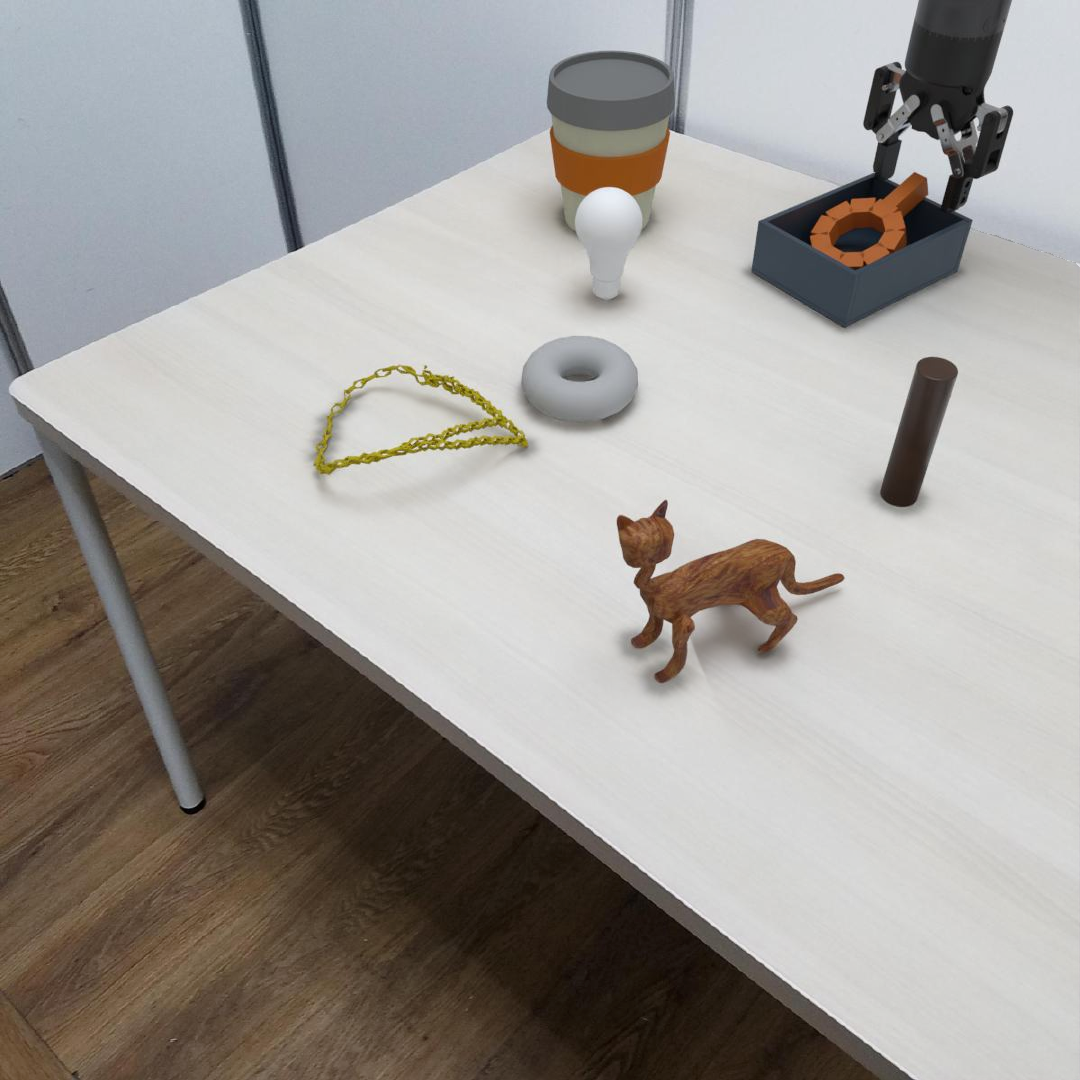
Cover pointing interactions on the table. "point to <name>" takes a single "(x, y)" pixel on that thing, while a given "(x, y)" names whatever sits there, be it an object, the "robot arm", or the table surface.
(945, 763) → the table surface
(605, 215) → the lightbulb
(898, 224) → the ring
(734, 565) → the cat figurine
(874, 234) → the bin
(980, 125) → the robot arm
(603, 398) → the donut
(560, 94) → the reusable coffee cup
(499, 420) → the decorative chain
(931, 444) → the post
